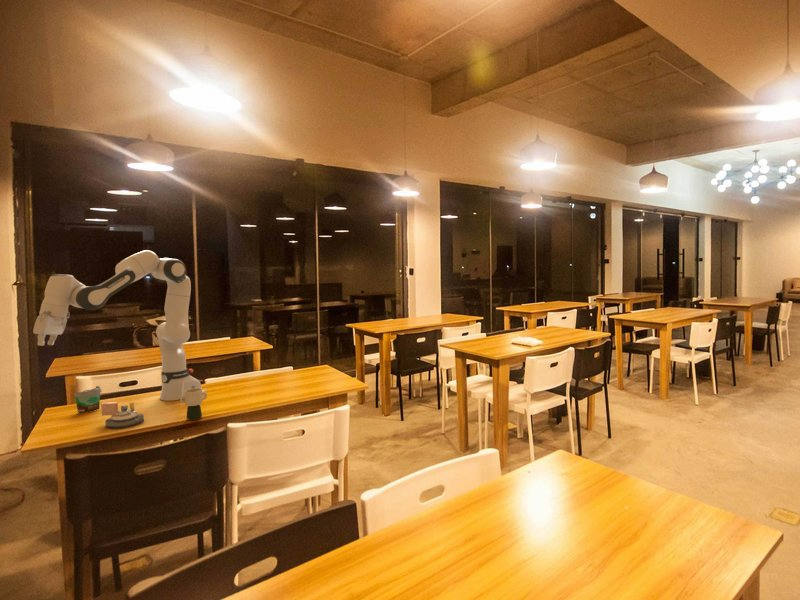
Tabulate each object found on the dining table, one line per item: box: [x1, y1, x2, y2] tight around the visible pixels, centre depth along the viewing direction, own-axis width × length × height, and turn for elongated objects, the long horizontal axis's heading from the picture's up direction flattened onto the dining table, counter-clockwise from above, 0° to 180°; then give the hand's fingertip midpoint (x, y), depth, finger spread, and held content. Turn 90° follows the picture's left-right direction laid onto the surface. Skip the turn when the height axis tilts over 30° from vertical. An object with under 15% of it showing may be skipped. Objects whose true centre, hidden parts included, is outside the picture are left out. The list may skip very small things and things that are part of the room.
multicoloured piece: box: [100, 401, 139, 422], centre depth 189 cm, size 14×10×7 cm
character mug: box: [179, 387, 208, 421], centre depth 193 cm, size 11×7×13 cm, turn 128°
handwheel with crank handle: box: [104, 402, 145, 430], centre depth 189 cm, size 14×14×8 cm
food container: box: [73, 385, 102, 414], centre depth 207 cm, size 12×6×10 cm, turn 168°
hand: (45, 345), depth 180 cm, fingers open, 8 cm apart
